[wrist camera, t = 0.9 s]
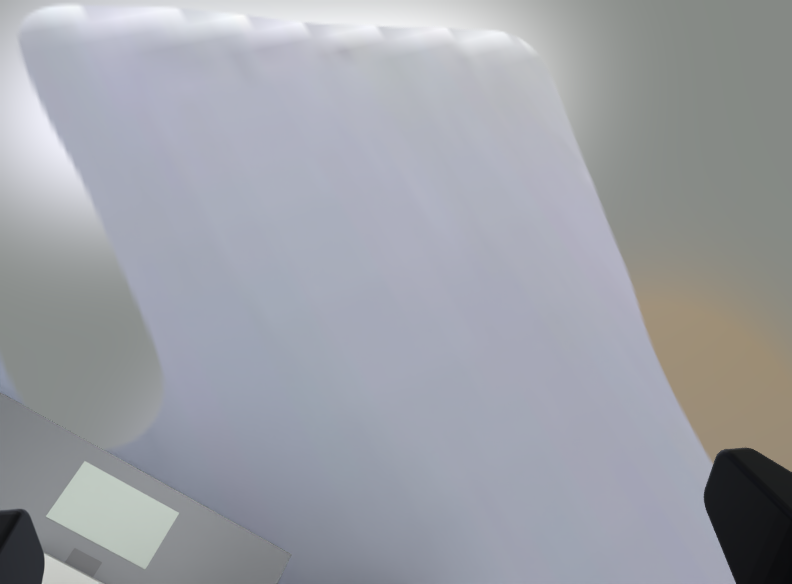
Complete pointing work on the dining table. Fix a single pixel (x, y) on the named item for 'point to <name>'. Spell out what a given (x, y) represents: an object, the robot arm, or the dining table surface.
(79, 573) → the lever
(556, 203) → the dining table surface
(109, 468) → the grey flat rectangular board
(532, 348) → the dining table surface
